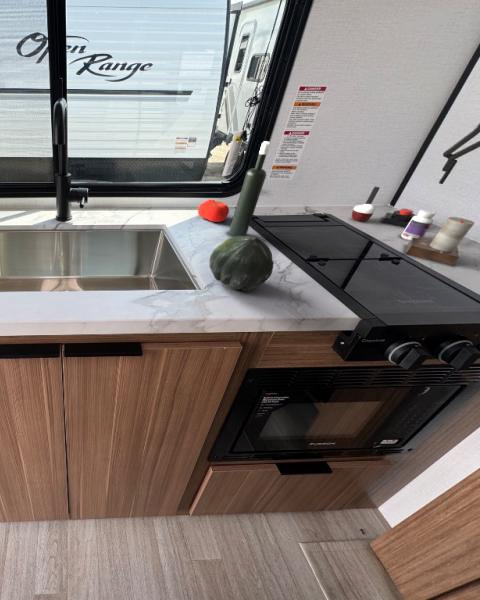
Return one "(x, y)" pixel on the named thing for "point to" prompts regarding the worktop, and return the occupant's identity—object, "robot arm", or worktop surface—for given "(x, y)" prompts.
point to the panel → (431, 252)
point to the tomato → (213, 210)
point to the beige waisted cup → (451, 234)
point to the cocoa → (365, 208)
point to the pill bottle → (418, 225)
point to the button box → (397, 219)
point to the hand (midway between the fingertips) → (471, 187)
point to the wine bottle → (249, 195)
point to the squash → (242, 262)
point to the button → (406, 212)
